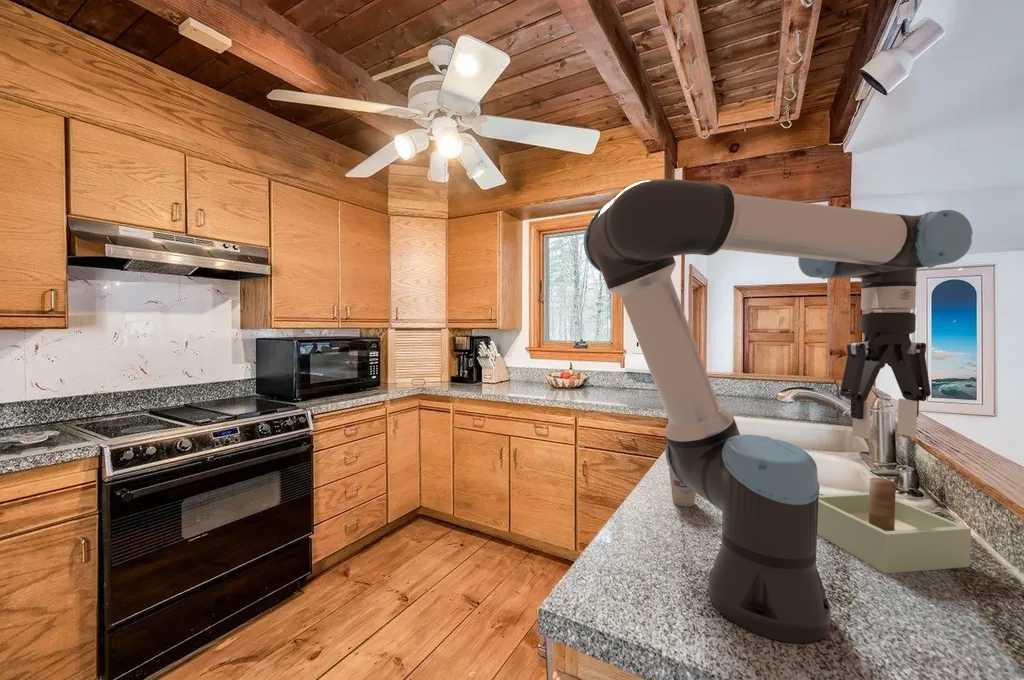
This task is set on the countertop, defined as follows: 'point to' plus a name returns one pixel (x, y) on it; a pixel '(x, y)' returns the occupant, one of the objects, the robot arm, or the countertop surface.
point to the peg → (882, 503)
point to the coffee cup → (681, 492)
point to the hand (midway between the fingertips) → (883, 435)
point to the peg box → (893, 535)
